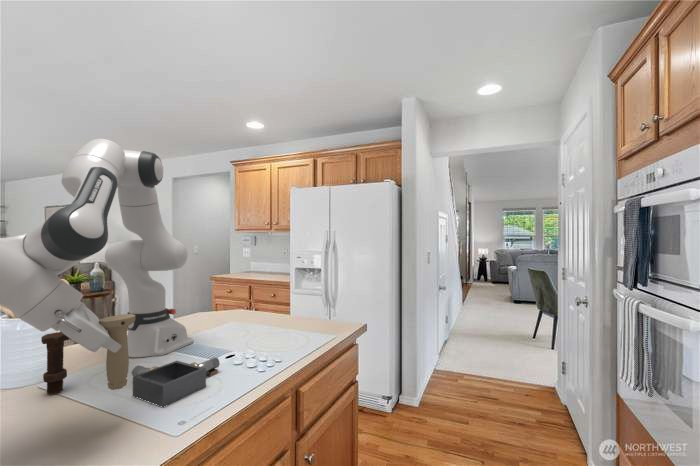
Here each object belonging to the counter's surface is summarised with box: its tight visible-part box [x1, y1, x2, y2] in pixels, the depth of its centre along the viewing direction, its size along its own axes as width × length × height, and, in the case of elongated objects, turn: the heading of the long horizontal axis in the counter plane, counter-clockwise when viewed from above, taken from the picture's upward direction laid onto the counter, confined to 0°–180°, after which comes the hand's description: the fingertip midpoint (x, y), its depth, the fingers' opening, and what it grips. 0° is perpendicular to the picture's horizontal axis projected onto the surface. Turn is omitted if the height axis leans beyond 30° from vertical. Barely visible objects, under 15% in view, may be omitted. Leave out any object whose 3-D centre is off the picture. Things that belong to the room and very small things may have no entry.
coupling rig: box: [131, 357, 220, 408], centre depth 92 cm, size 20×20×5 cm
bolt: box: [41, 331, 70, 396], centre depth 86 cm, size 6×5×15 cm
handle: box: [99, 313, 135, 391], centre depth 72 cm, size 5×6×15 cm
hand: (116, 345), depth 71 cm, fingers closed on handle, 3 cm apart
